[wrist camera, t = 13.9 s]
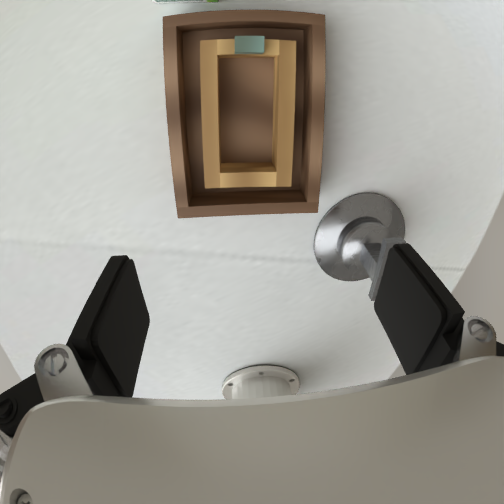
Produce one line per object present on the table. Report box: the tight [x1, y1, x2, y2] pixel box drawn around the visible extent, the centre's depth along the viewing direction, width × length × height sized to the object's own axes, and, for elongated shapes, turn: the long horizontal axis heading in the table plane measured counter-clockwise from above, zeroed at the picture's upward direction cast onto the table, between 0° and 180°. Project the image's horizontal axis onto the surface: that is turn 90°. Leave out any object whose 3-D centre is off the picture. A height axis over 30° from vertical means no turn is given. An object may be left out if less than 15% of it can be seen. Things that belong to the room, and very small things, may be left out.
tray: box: [163, 10, 325, 218], centre depth 22 cm, size 17×12×4 cm
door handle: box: [314, 193, 406, 301], centre depth 28 cm, size 11×11×7 cm
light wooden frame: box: [200, 36, 296, 188], centre depth 21 cm, size 7×12×4 cm, turn 179°
